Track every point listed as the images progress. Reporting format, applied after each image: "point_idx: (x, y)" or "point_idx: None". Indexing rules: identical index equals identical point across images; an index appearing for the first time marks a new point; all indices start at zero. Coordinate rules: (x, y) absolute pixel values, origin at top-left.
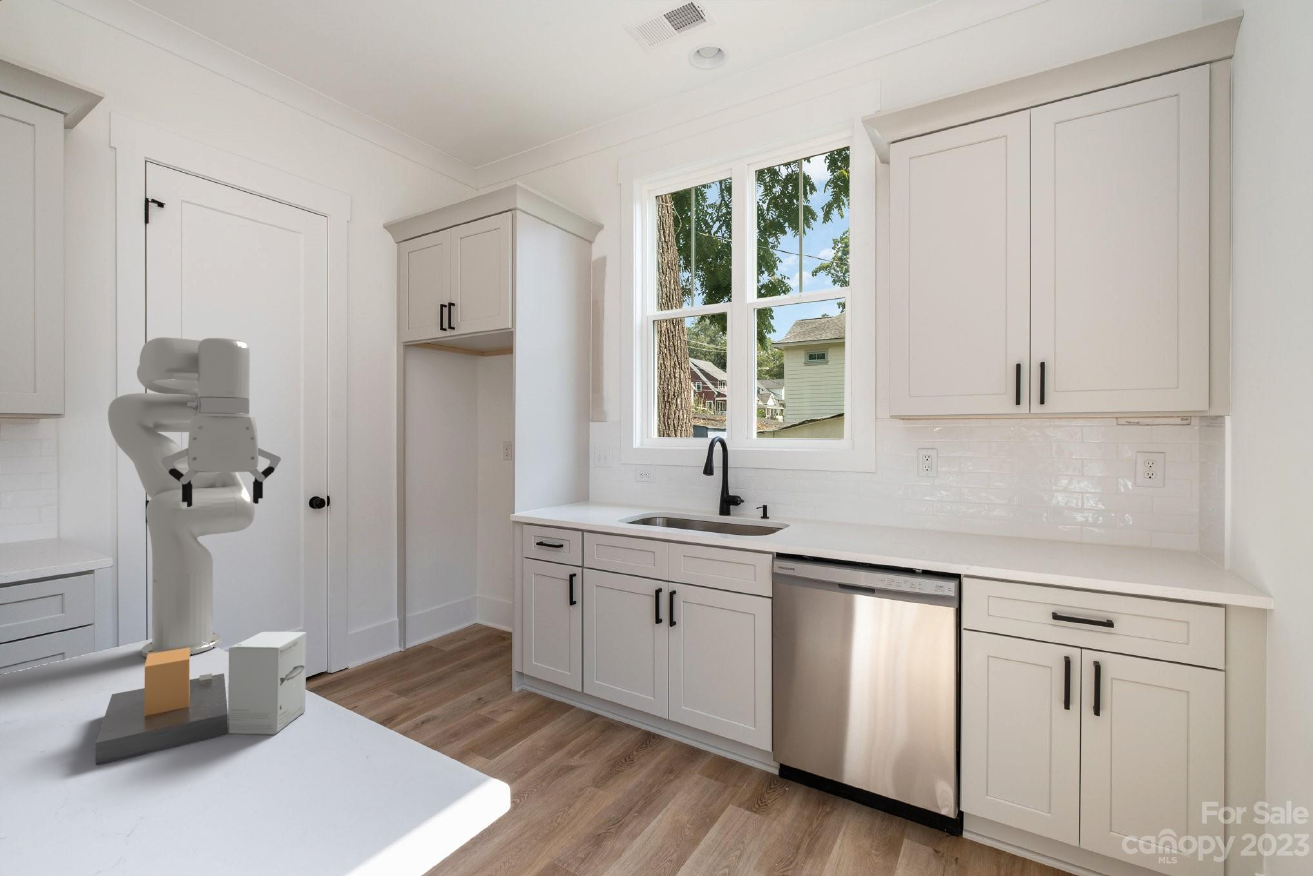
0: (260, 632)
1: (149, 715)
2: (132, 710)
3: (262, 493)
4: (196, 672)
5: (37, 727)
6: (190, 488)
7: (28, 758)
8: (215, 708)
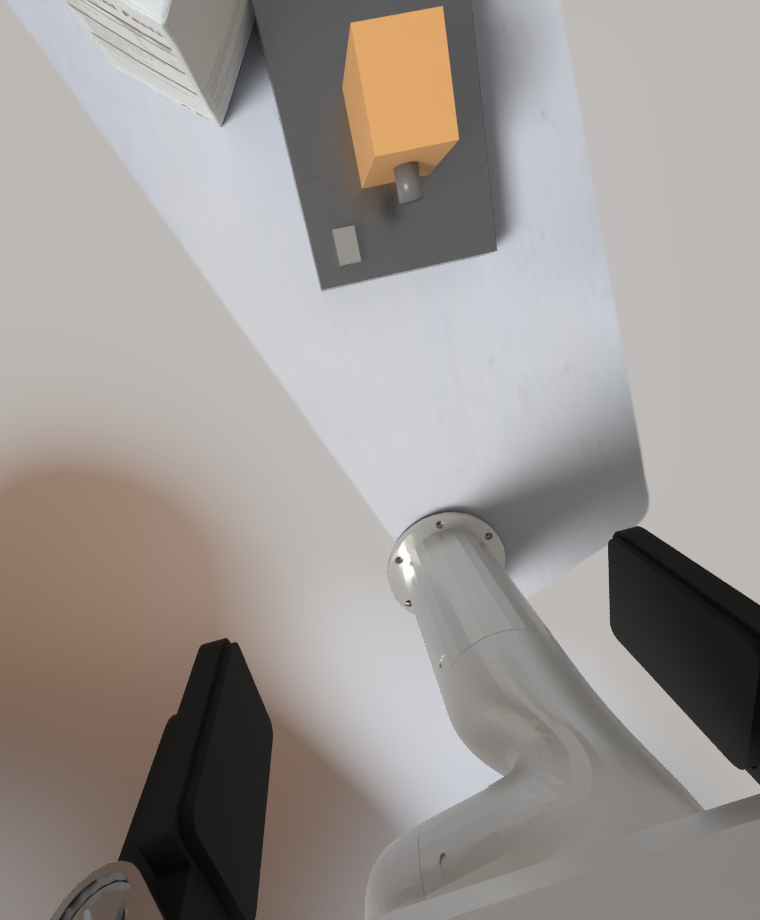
0: (165, 18)
1: None
2: None
3: (161, 744)
4: (394, 423)
5: (573, 242)
6: (738, 616)
7: (556, 90)
8: (283, 39)
